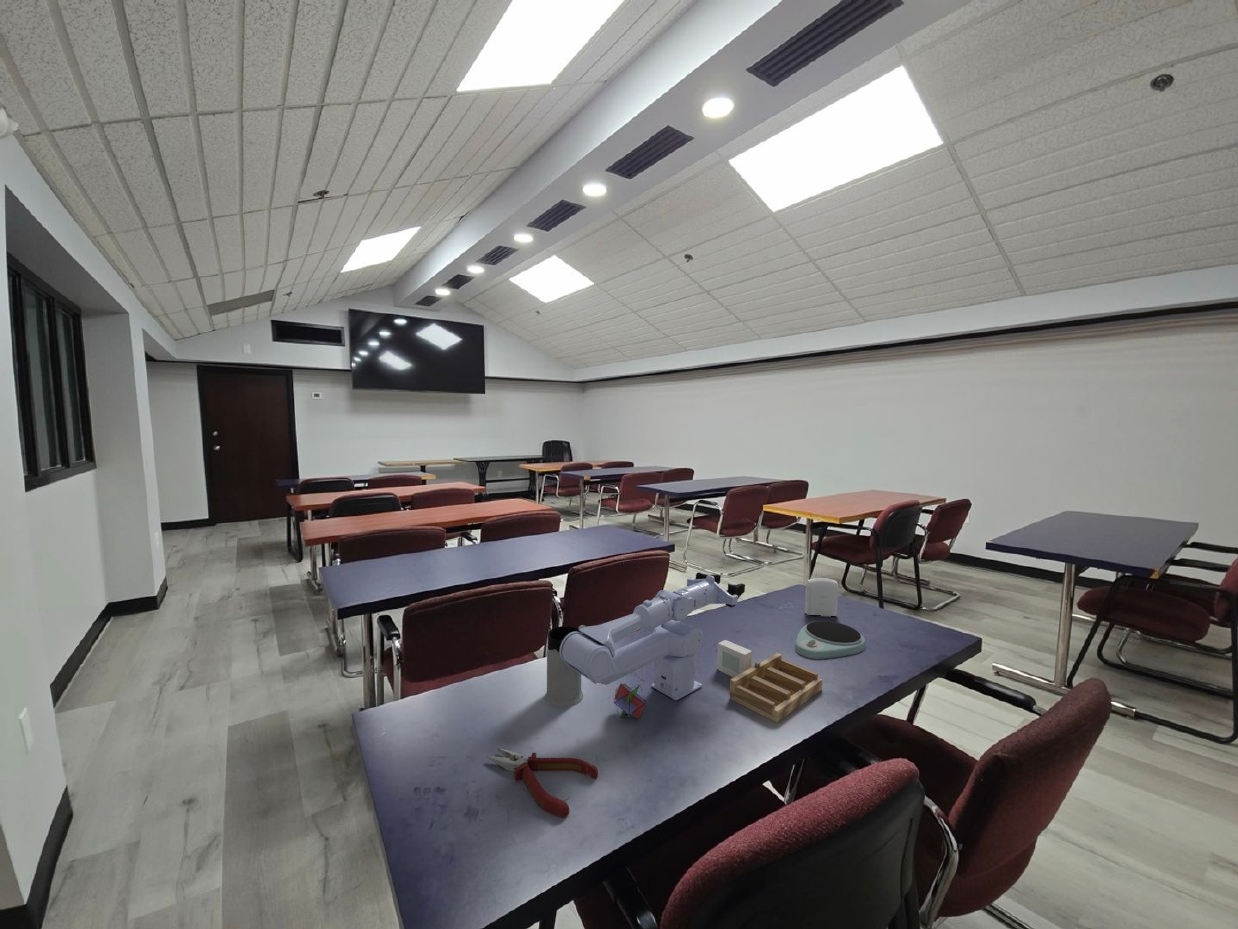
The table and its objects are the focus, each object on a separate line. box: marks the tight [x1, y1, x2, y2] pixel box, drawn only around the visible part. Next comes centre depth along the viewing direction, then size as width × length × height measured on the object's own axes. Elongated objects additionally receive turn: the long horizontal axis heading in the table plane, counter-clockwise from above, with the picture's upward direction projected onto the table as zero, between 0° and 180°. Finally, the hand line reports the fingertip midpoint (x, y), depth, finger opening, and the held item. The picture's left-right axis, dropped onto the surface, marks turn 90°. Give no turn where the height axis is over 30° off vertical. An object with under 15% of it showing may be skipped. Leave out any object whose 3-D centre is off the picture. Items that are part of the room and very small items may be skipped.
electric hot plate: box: [794, 620, 867, 660], centre depth 141 cm, size 18×4×25 cm
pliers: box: [486, 747, 599, 818], centre depth 87 cm, size 12×20×3 cm, turn 62°
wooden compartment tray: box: [729, 652, 824, 723], centre depth 114 cm, size 20×12×5 cm, turn 132°
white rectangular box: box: [716, 639, 753, 678], centre depth 123 cm, size 3×8×7 cm, turn 42°
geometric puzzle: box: [612, 683, 647, 720], centre depth 105 cm, size 7×7×8 cm
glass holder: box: [544, 624, 587, 709], centre depth 114 cm, size 9×14×15 cm, turn 154°
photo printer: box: [804, 577, 839, 617], centre depth 162 cm, size 10×4×12 cm, turn 85°
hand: (731, 583), depth 128 cm, fingers open, 7 cm apart
